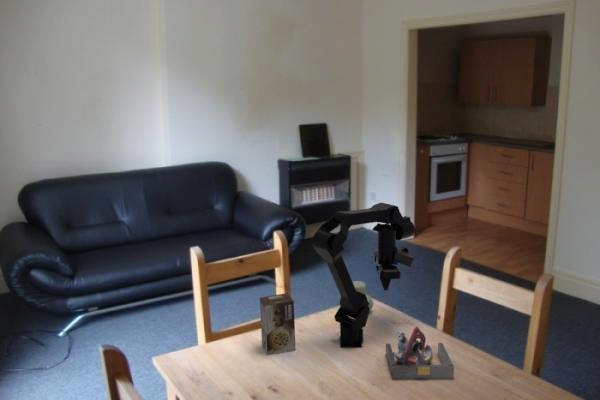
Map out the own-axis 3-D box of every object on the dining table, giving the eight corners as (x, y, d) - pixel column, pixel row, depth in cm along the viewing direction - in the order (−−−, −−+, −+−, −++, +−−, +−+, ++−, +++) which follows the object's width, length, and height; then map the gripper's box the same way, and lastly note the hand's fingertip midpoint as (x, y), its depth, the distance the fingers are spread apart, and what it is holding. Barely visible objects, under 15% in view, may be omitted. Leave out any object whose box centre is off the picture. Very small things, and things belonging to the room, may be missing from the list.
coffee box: (289, 341, 175) (288, 292, 171) (296, 350, 169) (294, 300, 165) (261, 346, 172) (259, 296, 168) (266, 355, 166) (264, 305, 162)
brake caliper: (427, 370, 152) (404, 330, 155) (398, 381, 159) (376, 342, 162) (446, 353, 160) (424, 316, 163) (417, 365, 168) (397, 328, 170)
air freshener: (338, 308, 197) (337, 282, 195) (356, 303, 202) (356, 276, 200) (358, 319, 189) (358, 291, 186) (376, 313, 193) (377, 286, 191)
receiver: (392, 380, 152) (393, 368, 151) (385, 354, 166) (385, 343, 165) (453, 379, 151) (454, 368, 151) (441, 353, 165) (442, 342, 164)
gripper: (418, 252, 167) (416, 301, 170) (407, 234, 185) (406, 278, 188) (380, 252, 167) (379, 302, 170) (373, 234, 185) (372, 279, 189)
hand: (385, 290), depth 179 cm, fingers closed
